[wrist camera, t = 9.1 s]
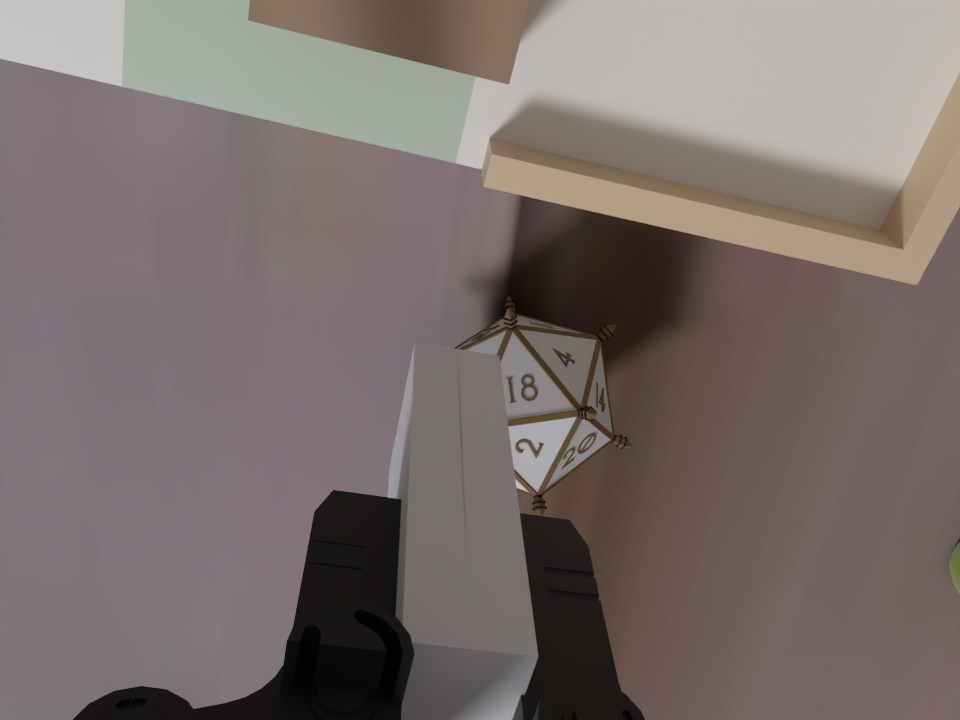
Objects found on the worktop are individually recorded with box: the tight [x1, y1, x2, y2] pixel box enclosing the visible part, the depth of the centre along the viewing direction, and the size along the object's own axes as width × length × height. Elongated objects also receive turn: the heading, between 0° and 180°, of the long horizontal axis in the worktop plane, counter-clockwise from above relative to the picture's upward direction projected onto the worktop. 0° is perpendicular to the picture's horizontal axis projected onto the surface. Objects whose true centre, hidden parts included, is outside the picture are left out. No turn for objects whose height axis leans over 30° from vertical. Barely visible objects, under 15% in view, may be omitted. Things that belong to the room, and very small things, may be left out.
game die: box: [454, 296, 633, 516], centre depth 36 cm, size 9×8×10 cm
